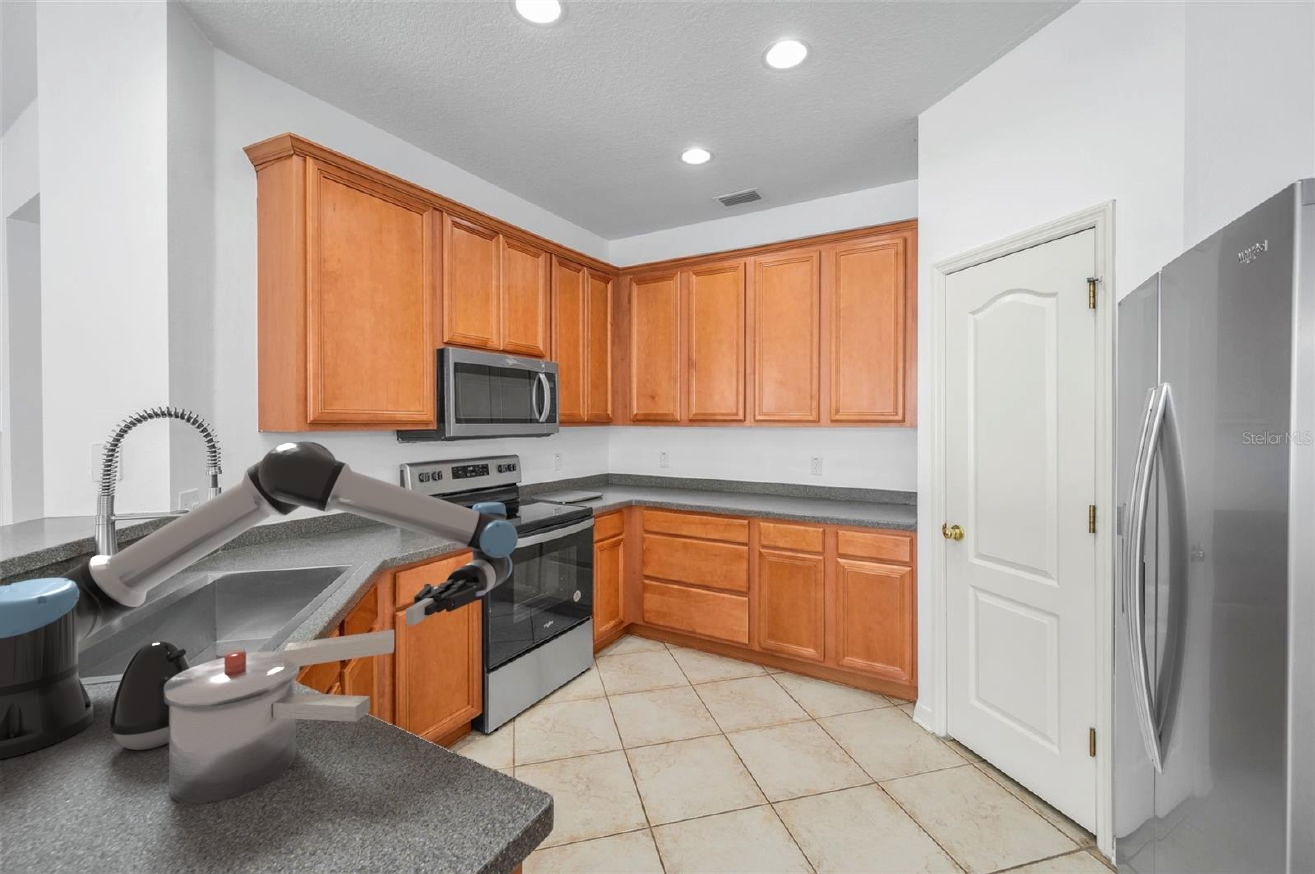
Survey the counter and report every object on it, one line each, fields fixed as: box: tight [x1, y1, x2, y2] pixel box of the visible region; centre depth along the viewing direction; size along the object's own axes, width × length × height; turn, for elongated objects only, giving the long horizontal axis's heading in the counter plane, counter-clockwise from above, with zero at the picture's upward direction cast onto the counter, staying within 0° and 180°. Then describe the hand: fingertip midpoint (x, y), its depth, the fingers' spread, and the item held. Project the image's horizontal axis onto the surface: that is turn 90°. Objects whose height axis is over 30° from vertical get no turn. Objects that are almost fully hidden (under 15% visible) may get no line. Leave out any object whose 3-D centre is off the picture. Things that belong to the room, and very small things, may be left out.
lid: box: [164, 629, 395, 708], centre depth 80 cm, size 28×15×4 cm, turn 114°
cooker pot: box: [168, 677, 371, 805], centre depth 77 cm, size 26×14×12 cm, turn 84°
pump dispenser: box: [109, 640, 191, 751], centre depth 86 cm, size 10×10×15 cm
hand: (410, 616), depth 96 cm, fingers closed
